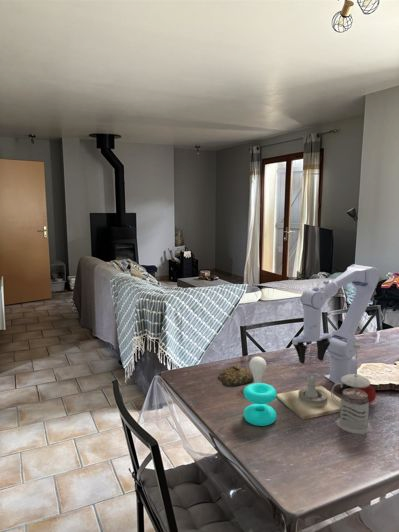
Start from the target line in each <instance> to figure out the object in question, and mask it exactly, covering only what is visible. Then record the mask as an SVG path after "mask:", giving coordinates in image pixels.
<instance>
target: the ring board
mask: <svg viewBox="0 0 399 532" xmlns="http://www.w3.org/2000/svg"><path fill="white" fill-rule="evenodd" d="M315 389H316V392H317V394H318V398H317V399H313V398H308V397H306V396H305V392H306V391H307V387H306V388H302V389H296V390H291V391H285V392H280V393H277V396H276V398H277V399H278V400H279V401H281V402H282V403H283V404H284V405H285V406H287V408H288V409H289V410H291V411H292V412H293V413H294V414H296V415H297V416H298V417H299V418H300V419H302V420H307V419H312V418H317V417H321V416H327V415H330V414H335V413H340V407H341V404H339V403H341V398H340V397H339V396H337V395H335V394H334V393H332V397H331V390H329V389H326V388H325V387H324V386H322V385H318V386H315ZM333 394H334V397H335V399H336V400H337V401H338V402H339V403H338V402H337V401H336V400H335V399H334V397H333ZM332 398H333V400H334V402H335V403H336V404H338V405H339V406H340V407H339V406H338V405H336V404H335V403H334V402H333V400H332ZM347 407H349V406H346V408H347ZM349 409H350V410H352V408H349Z"/></svg>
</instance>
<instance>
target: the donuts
mask: <svg viewBox="0 0 399 532" xmlns="http://www.w3.org/2000/svg"><path fill="white" fill-rule="evenodd" d="M277 394H278V393H277V389H275V387H274V386H273V385H271V384H268V383H265V382H261V383H254V382H253V383H250V384H248V385H246V386H245V387H244V389H243V396H244V398H245V399H246V400H247V401H248V402H250V403H252V404H249V405H248V406H246V407H245V408H244V410H243V417H244V419H245V421H246V422H248V423H249V424H251V425H254V426H259V427H262V426H263V427H265V426H268V425H269V426H270V425H271V424H273V423H275V421H276V420H277V412H276V410H275V409H274V408H273V407H272V406H271V405H270V404H271V403H273V402H274V401H275V400H276V398H277V397H276V396H277ZM268 404H269V405H268Z"/></svg>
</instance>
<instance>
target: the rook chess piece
mask: <svg viewBox="0 0 399 532" xmlns="http://www.w3.org/2000/svg"><path fill="white" fill-rule="evenodd" d="M306 381H307V382H306V383H307V386H306V388H307V391H306V392H305V396H306V397H308V398H313V399H317V398H318V394H317V392H316V389H315V387H316V384H317V383H316V381H317V377H316V375H314V374H308V375H307V377H306Z"/></svg>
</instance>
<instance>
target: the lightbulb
mask: <svg viewBox="0 0 399 532" xmlns="http://www.w3.org/2000/svg"><path fill="white" fill-rule="evenodd" d="M248 365H249V366H248V367H249V369H250V371H251V374H252V376H253V383H262V380H263V375H264V373H265V371H266V369H267V362H266V360H265V359H264V358H263V357H262V356H254V357H252V358H251V359H250V361H249V364H248Z"/></svg>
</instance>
